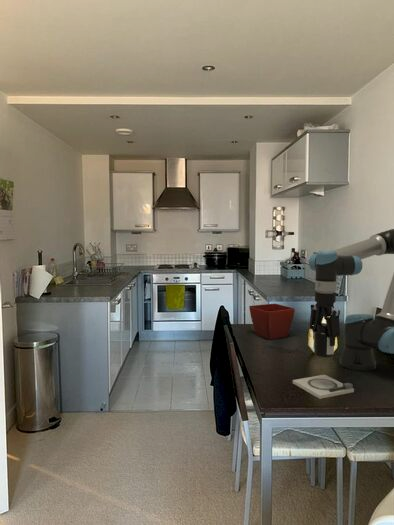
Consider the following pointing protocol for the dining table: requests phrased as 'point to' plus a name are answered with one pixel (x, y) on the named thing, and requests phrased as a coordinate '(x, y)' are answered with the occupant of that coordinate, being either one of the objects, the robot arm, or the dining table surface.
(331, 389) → the record player
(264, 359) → the dining table surface
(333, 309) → the robot arm
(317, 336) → the supplement bottle
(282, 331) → the plant pot
